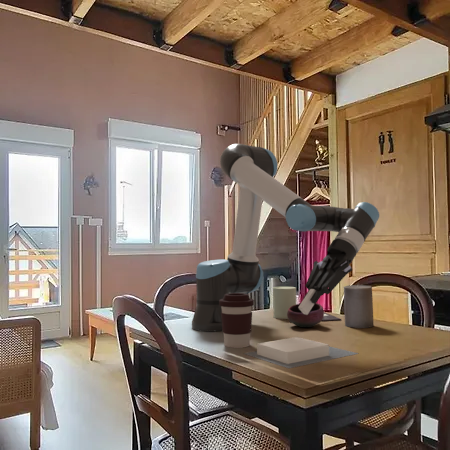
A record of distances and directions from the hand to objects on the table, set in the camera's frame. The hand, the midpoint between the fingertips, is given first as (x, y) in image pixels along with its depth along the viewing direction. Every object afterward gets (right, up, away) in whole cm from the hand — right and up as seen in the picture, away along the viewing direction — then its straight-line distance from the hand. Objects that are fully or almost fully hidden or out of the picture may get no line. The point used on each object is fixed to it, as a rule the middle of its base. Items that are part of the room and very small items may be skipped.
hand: (302, 311), depth 126 cm
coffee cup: (-17, -12, +11) cm, 24 cm away
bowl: (+7, -13, +42) cm, 45 cm away
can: (+3, -14, +62) cm, 63 cm away
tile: (+3, -10, +2) cm, 10 cm away
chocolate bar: (+17, -14, +60) cm, 64 cm away
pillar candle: (+26, -13, +41) cm, 50 cm away
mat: (-1, -12, -1) cm, 12 cm away
